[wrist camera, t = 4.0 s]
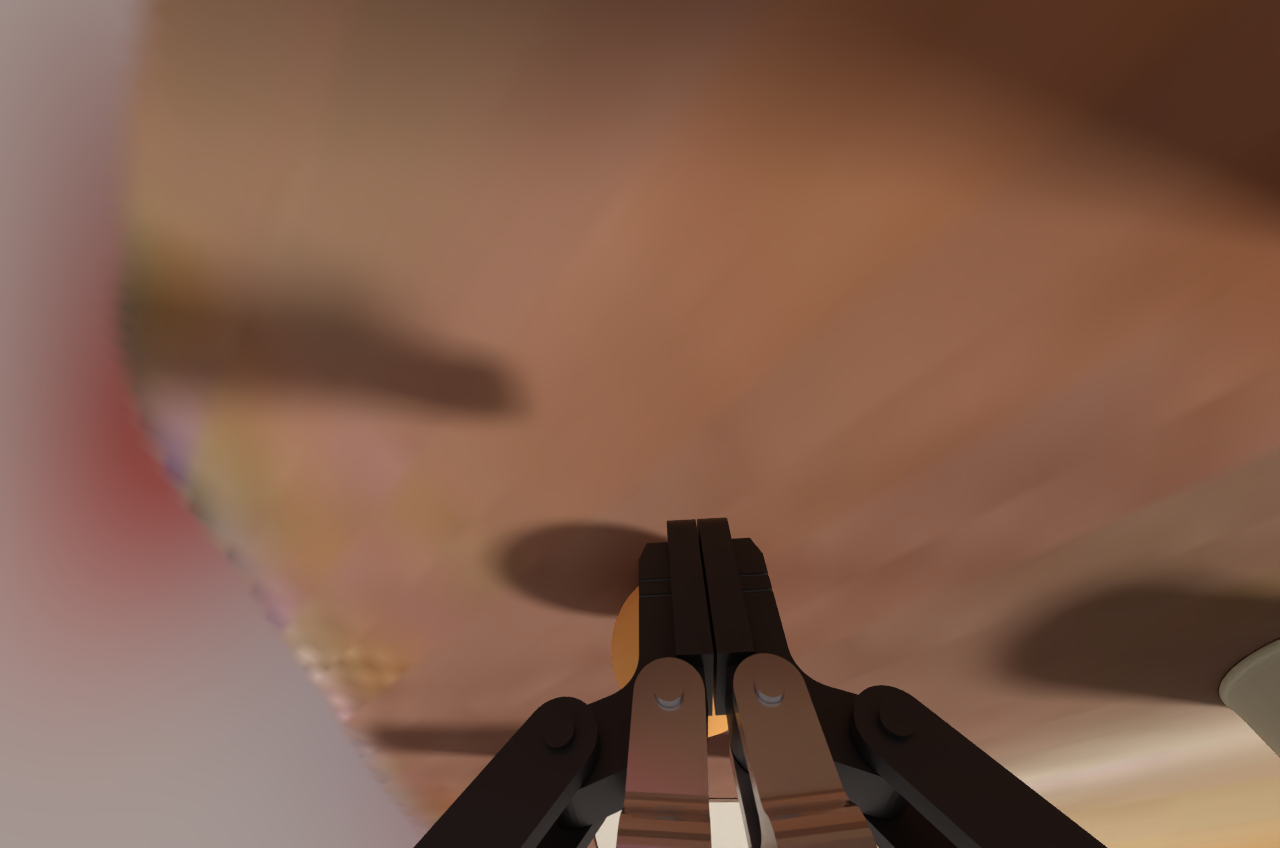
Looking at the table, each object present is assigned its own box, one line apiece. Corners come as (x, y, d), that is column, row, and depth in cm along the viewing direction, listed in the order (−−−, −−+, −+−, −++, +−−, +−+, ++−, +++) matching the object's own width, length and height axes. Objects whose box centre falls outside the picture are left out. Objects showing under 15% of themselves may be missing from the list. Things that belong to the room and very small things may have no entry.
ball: (611, 536, 20) (599, 683, 15) (760, 534, 20) (796, 682, 15) (619, 624, 24) (612, 769, 19) (747, 623, 24) (774, 768, 19)
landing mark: (587, 798, 35) (587, 802, 35) (773, 799, 35) (773, 802, 35) (602, 860, 43) (601, 862, 43) (755, 860, 42) (756, 863, 42)
